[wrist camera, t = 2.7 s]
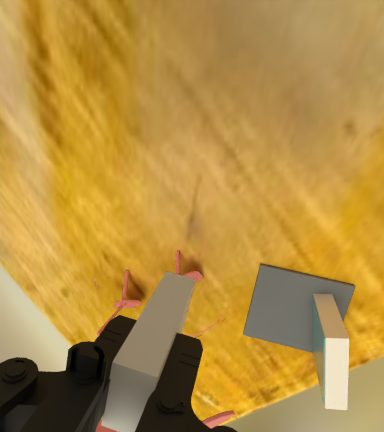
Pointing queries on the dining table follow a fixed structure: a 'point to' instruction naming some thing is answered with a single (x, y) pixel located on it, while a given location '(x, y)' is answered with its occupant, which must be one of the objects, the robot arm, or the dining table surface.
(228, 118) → the dining table surface
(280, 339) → the mat
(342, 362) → the tile
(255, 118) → the dining table surface
